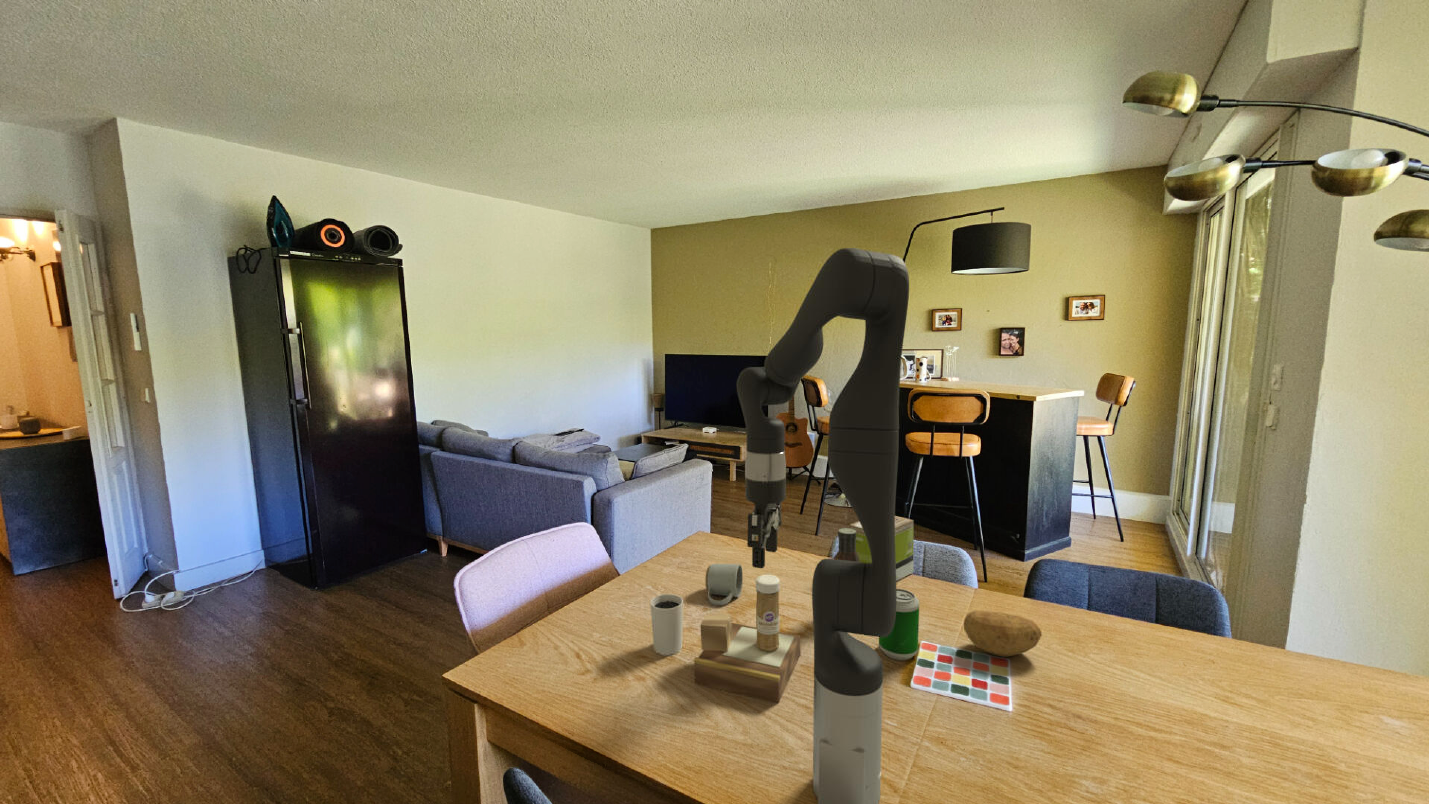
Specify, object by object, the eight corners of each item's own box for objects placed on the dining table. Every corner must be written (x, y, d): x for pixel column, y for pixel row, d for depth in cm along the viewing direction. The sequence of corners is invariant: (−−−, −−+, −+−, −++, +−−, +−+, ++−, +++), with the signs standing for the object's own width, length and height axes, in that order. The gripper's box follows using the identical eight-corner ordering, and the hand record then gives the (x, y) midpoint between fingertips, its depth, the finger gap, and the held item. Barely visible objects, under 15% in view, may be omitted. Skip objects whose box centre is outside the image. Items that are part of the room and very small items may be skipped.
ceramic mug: (711, 585, 146) (711, 556, 145) (743, 588, 144) (743, 559, 143) (700, 605, 136) (700, 574, 135) (734, 609, 134) (734, 578, 133)
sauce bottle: (862, 624, 126) (863, 537, 124) (833, 622, 127) (834, 535, 125) (859, 609, 132) (860, 526, 130) (831, 608, 133) (832, 525, 131)
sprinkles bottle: (761, 654, 107) (760, 585, 106) (752, 641, 112) (752, 575, 110) (783, 649, 109) (783, 582, 107) (774, 637, 113) (774, 572, 111)
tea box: (881, 562, 159) (882, 510, 158) (914, 573, 152) (915, 519, 150) (847, 577, 150) (848, 522, 148) (880, 590, 142) (882, 533, 140)
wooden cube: (725, 626, 108) (731, 614, 113) (700, 625, 109) (706, 612, 114) (727, 651, 108) (732, 638, 113) (701, 650, 109) (708, 636, 114)
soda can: (920, 664, 111) (922, 605, 109) (880, 660, 112) (881, 602, 111) (915, 643, 118) (916, 588, 116) (877, 640, 119) (878, 585, 118)
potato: (1047, 670, 108) (1049, 630, 107) (966, 661, 111) (968, 622, 110) (1032, 643, 117) (1034, 606, 116) (958, 635, 121) (960, 599, 120)
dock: (778, 703, 100) (778, 678, 99) (694, 683, 106) (694, 659, 105) (800, 654, 114) (800, 633, 114) (725, 639, 120) (725, 619, 120)
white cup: (646, 644, 119) (645, 598, 118) (676, 636, 122) (675, 591, 121) (658, 660, 113) (657, 612, 112) (689, 651, 116) (688, 604, 115)
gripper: (774, 485, 98) (774, 576, 100) (794, 468, 112) (793, 548, 113) (733, 481, 101) (733, 570, 103) (757, 465, 114) (757, 544, 116)
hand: (765, 558), depth 108 cm, fingers open, 8 cm apart
